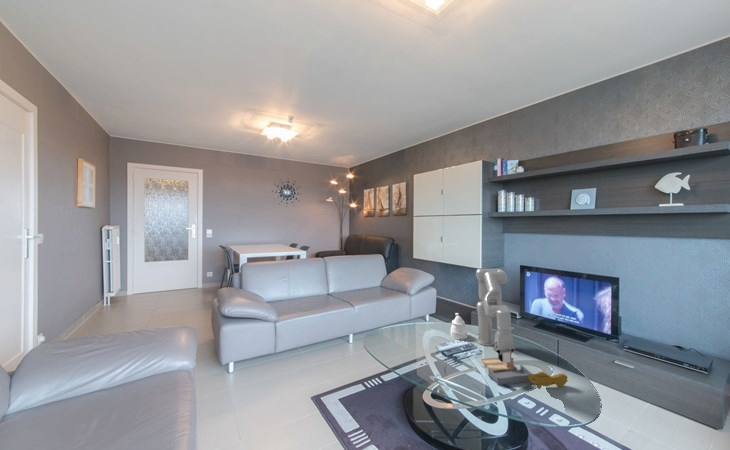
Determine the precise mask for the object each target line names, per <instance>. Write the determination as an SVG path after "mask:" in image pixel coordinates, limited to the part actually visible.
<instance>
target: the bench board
mask: <svg viewBox="0 0 730 450" xmlns="http://www.w3.org/2000/svg"><path fill="white" fill-rule="evenodd" d="M480 360H481V361H480V362H481V363H482V364H483V365H484V366H485V367H486V369H488V368H490V369H491V370H492V371H493V372H494V373H496V372H505V371H514V370H518V368H517V366H515V365H514V367H509V368H507V367H506V366H504V365H503V362H501V361H500V360H499V358H498V356H497V357H496V356H495V357H488V358H481V359H480Z"/></svg>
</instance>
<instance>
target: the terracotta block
mask: <svg viewBox="0 0 730 450" xmlns="http://www.w3.org/2000/svg"><path fill="white" fill-rule="evenodd" d="M503 365H504V366H506V367H507V368H509V367H514V366H515V364H514V357H513V356H512V355H511V362H507V363H503Z"/></svg>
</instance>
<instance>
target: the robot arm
mask: <svg viewBox="0 0 730 450" xmlns="http://www.w3.org/2000/svg"><path fill="white" fill-rule="evenodd" d="M475 277H476V279H477V281H478V297H479V300H481V301H478V302H477V303H476V311H477V312H476V313H477V320H478V321H477V322H478V323H477V327H478V328H477V329H478V333H477V335H478V337H477V338H476V342H477V343H478V344H479V345H483V346H487V347H488V346H489V347H490V346H493V345H494V346H493V347H492V350H493V351H495V352H496V353H497V354H498V356H497V357H498V358H499V360H500V361H501V362H502V361H503V356H502V350H508V351H509V352H510V357H511V356H512V354H513V352H514V351H515V350H516V349H517V346H516V345H515V343H514V342H515V340H514V336H513V333H512V331H513V330H514V329H513V327H512V323H511V322H512V319H511V317H512V316H511V310H510V308H509V306H507V305H504V304H503V303H502V302H503V295H502V288H501V285H502V284H507V282H508V275H507V274H506V271H504V270H502V269H501V268H477V270H475ZM500 284H501V285H500ZM492 318H493V319H494V318H495V319H496V331H495V334H494V339H493V327H492V326H493V324H492V323H493V322H492Z"/></svg>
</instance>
